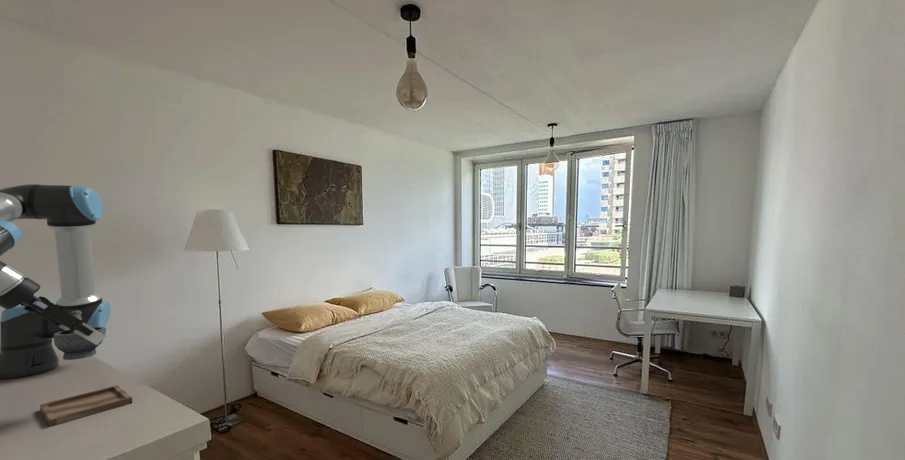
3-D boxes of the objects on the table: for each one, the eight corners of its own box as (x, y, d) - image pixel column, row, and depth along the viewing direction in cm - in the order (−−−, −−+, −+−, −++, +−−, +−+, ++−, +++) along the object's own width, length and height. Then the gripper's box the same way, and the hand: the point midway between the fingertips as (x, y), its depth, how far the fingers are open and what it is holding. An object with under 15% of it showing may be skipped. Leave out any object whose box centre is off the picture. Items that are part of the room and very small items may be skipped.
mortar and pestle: (110, 354, 99) (111, 310, 99) (61, 364, 90) (62, 316, 91) (94, 349, 104) (95, 307, 105) (46, 358, 96) (48, 312, 96)
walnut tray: (40, 410, 94) (40, 404, 94) (116, 390, 106) (116, 385, 106) (50, 426, 86) (50, 420, 86) (132, 402, 98) (132, 397, 98)
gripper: (-19, 297, 91) (67, 344, 103) (0, 303, 79) (95, 356, 91) (14, 274, 96) (92, 322, 108) (37, 277, 84) (122, 330, 96)
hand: (94, 338), depth 100 cm, fingers closed on mortar and pestle, 11 cm apart
